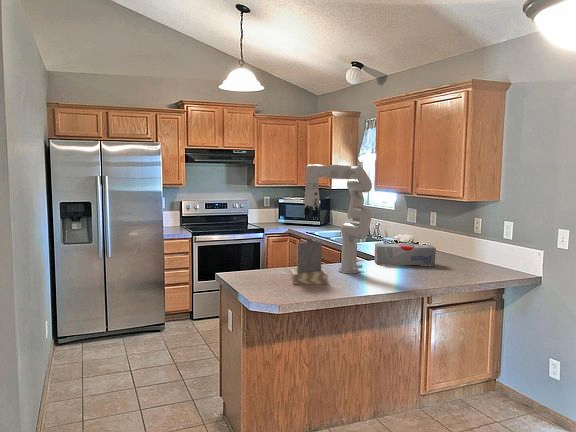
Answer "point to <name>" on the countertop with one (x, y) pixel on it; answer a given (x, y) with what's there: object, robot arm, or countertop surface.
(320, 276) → the chevron striped box
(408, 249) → the soda pack
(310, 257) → the hip flask
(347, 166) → the robot arm
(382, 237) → the countertop surface
